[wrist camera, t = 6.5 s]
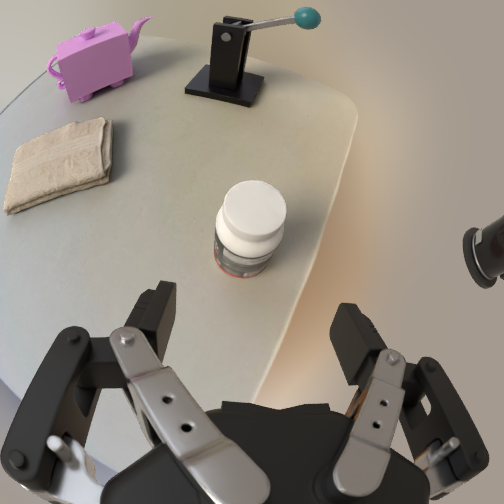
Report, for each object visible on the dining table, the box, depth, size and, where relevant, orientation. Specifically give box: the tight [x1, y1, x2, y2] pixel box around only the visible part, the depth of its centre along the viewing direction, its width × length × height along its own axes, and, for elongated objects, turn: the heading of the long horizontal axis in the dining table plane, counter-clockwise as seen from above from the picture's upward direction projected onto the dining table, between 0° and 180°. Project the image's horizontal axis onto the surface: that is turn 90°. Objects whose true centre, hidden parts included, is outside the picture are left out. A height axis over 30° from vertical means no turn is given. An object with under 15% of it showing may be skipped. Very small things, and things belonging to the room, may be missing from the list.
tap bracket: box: [185, 16, 264, 107], centre depth 33 cm, size 11×9×13 cm
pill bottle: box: [214, 180, 287, 279], centre depth 24 cm, size 6×6×10 cm
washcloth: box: [3, 117, 113, 216], centre depth 28 cm, size 12×18×3 cm, turn 108°
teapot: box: [47, 16, 152, 103], centre depth 31 cm, size 20×10×12 cm, turn 124°
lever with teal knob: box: [232, 7, 321, 34], centre depth 27 cm, size 14×4×4 cm, turn 75°
